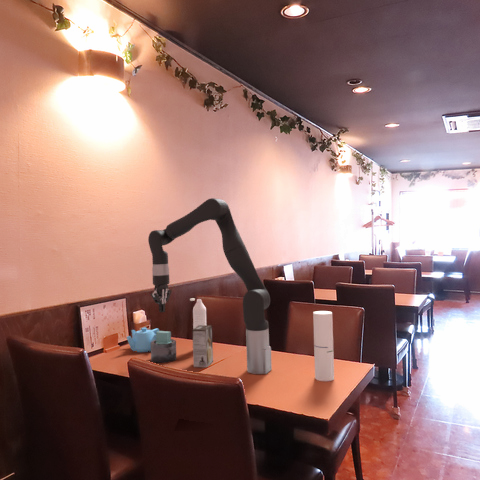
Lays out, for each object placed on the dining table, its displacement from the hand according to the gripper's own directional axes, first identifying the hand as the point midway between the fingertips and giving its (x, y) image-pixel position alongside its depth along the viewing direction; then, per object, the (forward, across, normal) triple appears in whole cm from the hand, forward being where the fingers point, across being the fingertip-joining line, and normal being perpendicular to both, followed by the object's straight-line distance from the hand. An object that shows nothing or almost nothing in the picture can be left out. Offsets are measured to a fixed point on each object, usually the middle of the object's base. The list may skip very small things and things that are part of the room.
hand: (162, 312), depth 192 cm
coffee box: (+22, 0, -21) cm, 30 cm away
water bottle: (+22, +19, -7) cm, 30 cm away
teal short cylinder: (+15, 0, 0) cm, 15 cm away
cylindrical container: (+22, +1, -74) cm, 77 cm away
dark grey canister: (+22, 0, 0) cm, 22 cm away
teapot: (+22, +11, +20) cm, 32 cm away
